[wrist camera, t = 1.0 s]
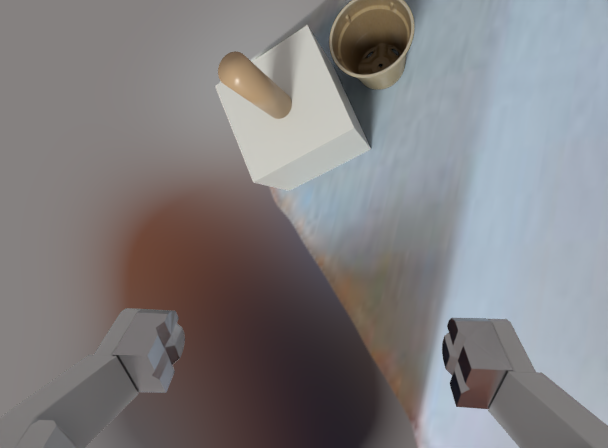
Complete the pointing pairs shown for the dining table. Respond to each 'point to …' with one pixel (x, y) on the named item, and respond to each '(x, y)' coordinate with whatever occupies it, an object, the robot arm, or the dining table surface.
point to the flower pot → (372, 40)
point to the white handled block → (289, 112)
